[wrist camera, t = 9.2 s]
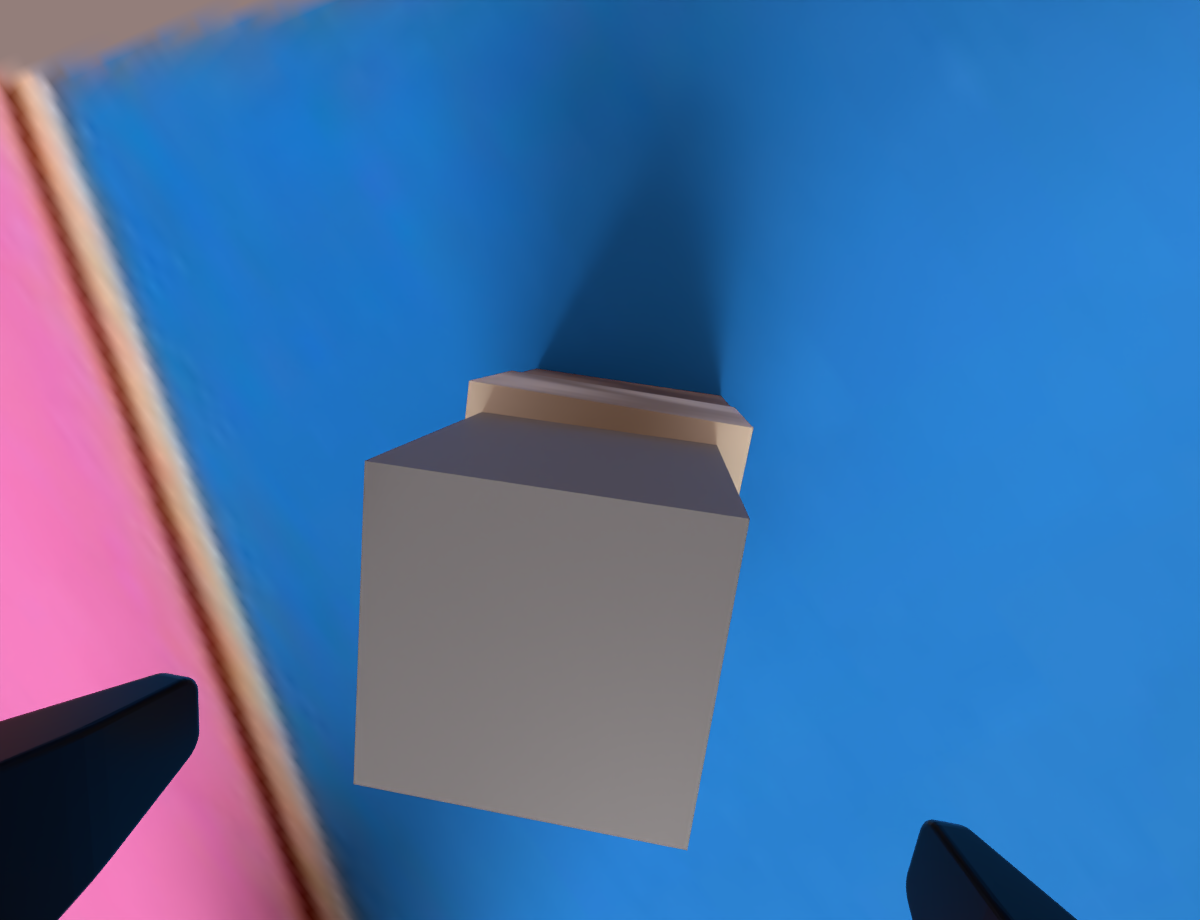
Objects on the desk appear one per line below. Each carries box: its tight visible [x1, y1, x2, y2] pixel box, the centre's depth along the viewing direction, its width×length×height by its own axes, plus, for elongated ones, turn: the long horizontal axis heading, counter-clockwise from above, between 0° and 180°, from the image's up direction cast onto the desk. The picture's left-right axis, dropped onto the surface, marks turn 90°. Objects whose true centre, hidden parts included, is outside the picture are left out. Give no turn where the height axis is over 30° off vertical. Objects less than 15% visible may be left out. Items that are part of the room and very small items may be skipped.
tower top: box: [465, 371, 753, 494], centre depth 15 cm, size 6×6×4 cm
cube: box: [354, 412, 749, 850], centre depth 10 cm, size 5×5×5 cm
